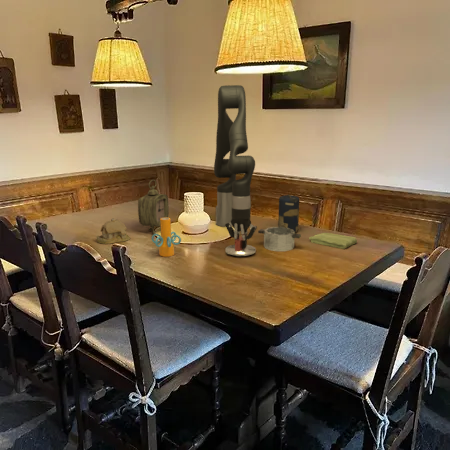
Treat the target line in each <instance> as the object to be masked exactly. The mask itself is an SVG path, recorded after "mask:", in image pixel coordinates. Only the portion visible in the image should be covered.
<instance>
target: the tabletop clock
mask: <svg viewBox="0 0 450 450" xmlns="http://www.w3.org/2000/svg"><path fill="white" fill-rule="evenodd" d="M152 182H154V183H155V185H151V183H152ZM156 187H157V181H156V180H155V179H151V180H149V182H148V188H149V190H148V192H147V193H146V194H145V195H143V196H142V197H140V198H138V201H137V213H138V214H137V215H138V216H137V217H138V221H139V222H138V223H139V224H140V225H141V226H146V227H149V228H148V231H149V232H151V233H152V236H153V235H154V234H157V233H156V231H155V227H156V228H158V227H161V223H160V219H161V218H169V197H168V195H167V194H164V193H163V194H162V193H160V192H159V191H158V190H157V189H155V188H156Z"/></svg>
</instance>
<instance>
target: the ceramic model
mask: <svg viewBox="0 0 450 450" xmlns="http://www.w3.org/2000/svg"><path fill="white" fill-rule="evenodd" d="M100 232H101V235H96V241H97V243H98V244H103V245H104V244H105V245H107V244H108V245H109V244H115V243H121V242H126V241H127V242H128V241H129V240H130V239H131V236H130V235H129V234H127V226H126V225H125V223H123V222H122V221H121V220H120V219H118V218H117V219H115V218H111V219H110V220H108V221H106V222H104V224H103V225H101V228H100Z"/></svg>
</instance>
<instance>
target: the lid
mask: <svg viewBox="0 0 450 450" xmlns="http://www.w3.org/2000/svg"><path fill="white" fill-rule="evenodd" d="M242 240H243V239H242V235H240V236H239V238H238V239H236V240H235V239H234V244H231V245H228V246H226V247H225V248H224V249H225V254H227V255H231V256H234V257H247V256H250V255H254V254H256V251H257V248H256V247H255V246H252V245H250V244H247V246H246V247H245V249H242Z"/></svg>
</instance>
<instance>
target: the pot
mask: <svg viewBox="0 0 450 450" xmlns="http://www.w3.org/2000/svg"><path fill="white" fill-rule="evenodd" d="M257 233H258V234H263V247H264V249H266V250H269V251H271V252H273V251H274V252H288V251H292V250H293V249H294V248H295V239H300V238H301V237H302V234H301V233H296V232H295V231H294V230H293V229H290V228H285V227H278V226H271V227H267V228H264V229H263V228H260V229H258V231H257Z"/></svg>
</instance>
